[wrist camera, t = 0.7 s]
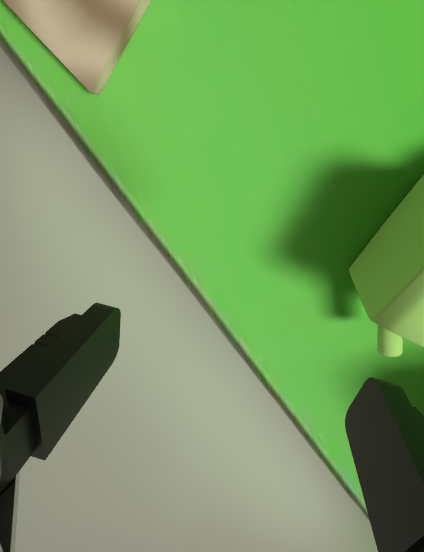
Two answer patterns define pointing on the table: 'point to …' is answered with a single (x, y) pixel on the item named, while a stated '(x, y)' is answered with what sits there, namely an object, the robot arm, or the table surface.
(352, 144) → the table surface
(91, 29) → the beige wavy board
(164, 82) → the table surface
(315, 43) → the table surface
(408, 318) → the lime tabbed block
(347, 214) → the table surface
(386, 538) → the robot arm
